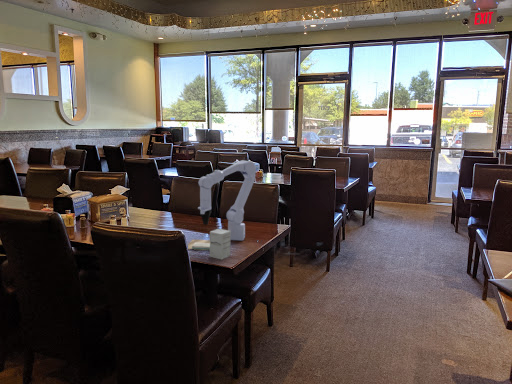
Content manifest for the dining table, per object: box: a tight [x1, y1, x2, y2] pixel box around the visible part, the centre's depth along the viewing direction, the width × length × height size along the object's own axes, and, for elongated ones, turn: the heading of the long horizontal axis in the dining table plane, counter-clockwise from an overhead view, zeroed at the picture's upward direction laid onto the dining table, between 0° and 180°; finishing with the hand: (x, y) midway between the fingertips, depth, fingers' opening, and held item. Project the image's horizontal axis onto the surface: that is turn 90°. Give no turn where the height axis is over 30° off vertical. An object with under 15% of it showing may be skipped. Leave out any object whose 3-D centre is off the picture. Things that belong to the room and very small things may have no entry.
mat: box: [187, 239, 210, 252], centre depth 196 cm, size 16×16×1 cm
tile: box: [192, 242, 210, 251], centre depth 191 cm, size 10×2×6 cm
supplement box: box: [209, 228, 231, 260], centre depth 178 cm, size 7×7×13 cm
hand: (205, 224), depth 199 cm, fingers closed
